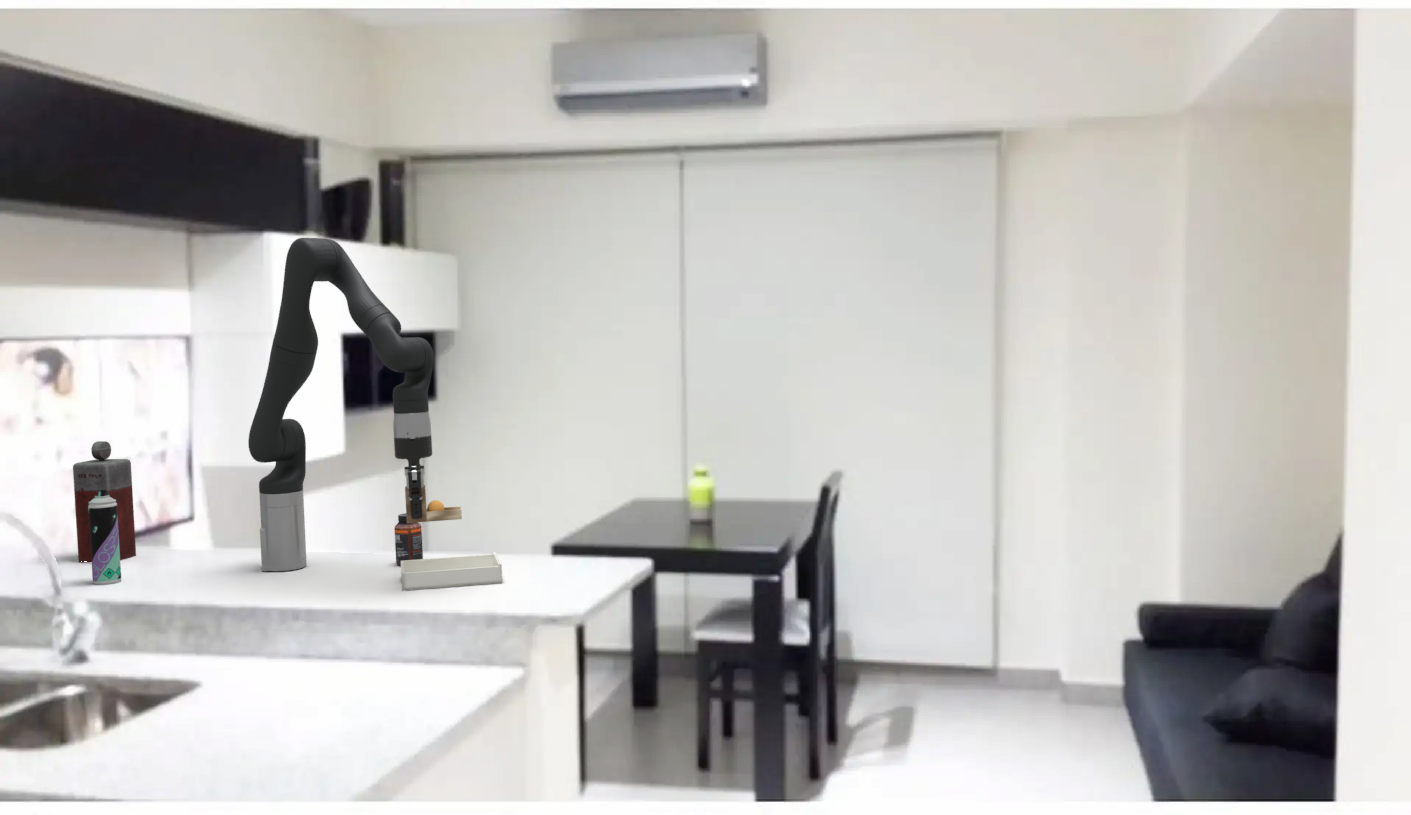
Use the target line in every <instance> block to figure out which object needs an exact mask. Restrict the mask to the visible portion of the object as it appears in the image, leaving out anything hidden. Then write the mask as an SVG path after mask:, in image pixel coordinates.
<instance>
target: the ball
mask: <svg viewBox="0 0 1411 815" xmlns="http://www.w3.org/2000/svg"><path fill="white" fill-rule="evenodd" d="M444 507H445V506H444V503H443V502H442V501H440V500H437V499H435V500H432V501H430V502H429V503H428V505H427V506H426V509H427V510H428V512H430V511H444Z"/></svg>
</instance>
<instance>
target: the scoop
mask: <svg viewBox="0 0 1411 815" xmlns="http://www.w3.org/2000/svg"><path fill="white" fill-rule="evenodd" d="M413 492H419V489H412V493H413ZM404 493H405V494H404V496H405V511H406V512H405V513H406V516H407V523H416V522H418V523H425V522H426V523H427V522H429V523H430V522H438V521H439V522H440V521H441V522H442V521H456V520H462V509H461V508H462V507H461V506H449V507H447V506H446V507H445V506H444V511H430V512H428V510H427V499H426V498H427V496H426V495H427V494H426V484H424V488H423V489H422V496H423V498H422V518H420V519H412V518H411V502H410V499H409V490H408V489H407V485H406V486H405V488H404Z"/></svg>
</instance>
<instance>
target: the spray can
mask: <svg viewBox="0 0 1411 815" xmlns="http://www.w3.org/2000/svg"><path fill="white" fill-rule="evenodd" d="M88 511H89V527H90V544H91V560H92V563H91V571H92V572H91V573H92V574H91V575H92V584H93V585H94V584H95V585H94V586H104V585H105V586H106V585H113V584H118V583H121V582H122V568H121V560H120V549H119V532H118V515H117V503H116V500H115V499H113V498H111V497H109V495H108V494H107V492H106V490H97V494H96V496H95V498H94V499H92V500H91V501H89V505H88Z"/></svg>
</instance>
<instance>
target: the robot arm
mask: <svg viewBox="0 0 1411 815" xmlns="http://www.w3.org/2000/svg"><path fill="white" fill-rule="evenodd" d="M285 259H286V260H285V265H284V275H283V285H282V293H281V299H280V300H281V301H280V306H279V313H278V318H277V324H276V328H275V332H274V335H273V339H272V343H271V344H272V345H271V349H270V355H269V360H268V365H267V366H268V367H267V370H266V375H265V378H264V382H263V387H262V391H261V394H260V398H259V402H258V404H257V408H256V411H255V413H254V417H253V420H252V422H251V426H250V429H249V433H248V434H249V435H248V441H247V442H248V450H249V453H250V456H251V457H252V459H253V460H255V462H258V463H264V464H265V463H273V462H274V463H275V466H274V468H273V469H272V470H271V471H270V473H269V474H267V475H265V476H264V477H262V478H261V479H259V482H258V492H259V512H260V513H259V514H260V515H259V516H260V528H259V537H260V540H259V541H260V558H261V572H283V571H284V572H287V571H293V570H300V569H303V568H305V567H307V566H308V565H307V546H306V543H307V542H306V526H305V522H306V521H305V502H304V499H305V498H304V481H305V478H306V471H307V470H306V455H307V454H306V451H307V447H306V446H307V445H306V444H307V443H306V435H305V434H306V433H305V432H304V429H303V427H302V425H301V423H300V421H298V420H296V419H293V418H284V416H285V413H286V409H287V408H288V405H289V404H290V402H291V401H292V399H293V398H294V396H296V394H297V393H298V391H299V390H300V389H301V388H302V387H303V386H304V384H305V382H306V381H307V380H308V378H309V377H310V375H311V374H312V371H313V369H314V366H315V360H316V356H317V353H318V348H319V337H318V333H317V328H316V326H315V322H314V320H313V318H312V314H311V310H310V301H311V295H312V291H313V285H314V283H315V282H321V283H322V282H329V283H330V284H332V285H333V286H334V287H336V288H337V289H338V290H339V291H341V293H342V294H343V295H344V297H345V300H346V303H347V309H348V312H349V315H350V317H351V319H352V320H353V322H354V323H355V325H356V326H357V327H358V328H359V329H360V330H361V331H362V332H363V334H365V336H366V337H367V338H368V339H369V340H370V341H371V342H372V345H373V347H374V349H375V351H376V353H377V355H378V357H379V359H380V361H381V363H382V364H383V365H384V366H385V367H387V369H389V370H390V371H393V372H395V373H405V375H404V379H403V382H401V383H399V384H398V385H396V386H395V387H394V388H393V390H392V405H393V406H392V408H393V420H392V421H393V424H392V426H393V427H392V428H393V429H392V430H393V447H394V457H395V459H397V460H407V462H408V463H407V464H408V465H407V466H404V476H405V479H406V480H405V482H406V486H407V489H408V490H409V499H410V502H411V518H412V519H420V518H422V498H423V496H422V489H423V488H424V485H425V481H424V479H425V478H424V476H425V466H424V465H421V463H420V462H421V461H420V460H421V459H425V458H426V459H427V458H430V457H432V456H433V443H432V442H433V440H432V425H431V424H432V423H431V418H430V413H429V410H430V408H429V395H428V394H429V389H430V388H429V387H430V385H431V384H430V383H431V379H432V374H433V368H434V359H435V356H434V351H433V348H432V346H431V344H430V343H429V341H428V340H427V339H425V338H423V337H419V336H417V337H416V336H415V337H402V336H401V335H400V334H401V331H402V324H401V322H400V320H399V319H398V318H397V316H396V315H394V313H393V312H392V311H391V310H390V309H389V308H388V307H387V306H386V305H385V303H383V302H382V301H381V300H380V298H379V297H378V296H377V295H376V294H375V293H374V292H373V290H372V289H371V288H370V287H369V285H368V284H367V282H366V280H365V279H364V278H363V276H362V274H361V273H360V272H359V270H358V269H357V267H356V266H355V264H354V263H353V261H352V259H351V258H350V257H349V255H348V253H347V252H346V251H345V249H344V248H343V247H342V246H341V245H340V244H339V243H338V242H337V241H335V240H333V239H331V238H325V237H323V238H322V237H299V238H297V239H295V240H294V241H292V243H291V245H290V246H289V248H288V251H287V254H286V257H285ZM412 489H419V492H413V493H412Z"/></svg>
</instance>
